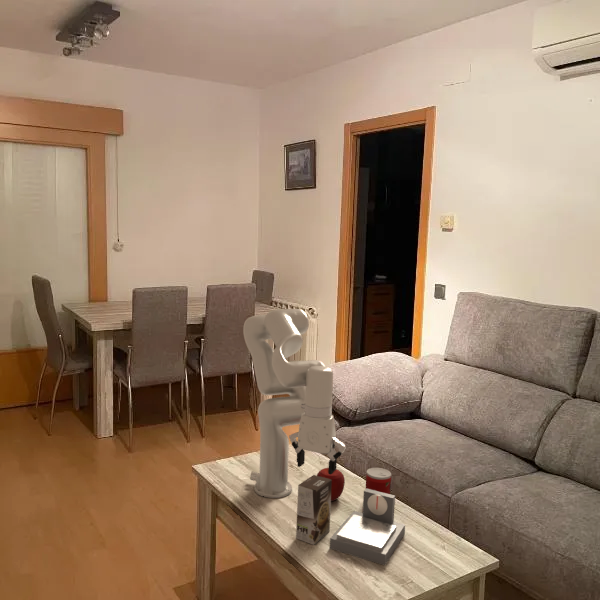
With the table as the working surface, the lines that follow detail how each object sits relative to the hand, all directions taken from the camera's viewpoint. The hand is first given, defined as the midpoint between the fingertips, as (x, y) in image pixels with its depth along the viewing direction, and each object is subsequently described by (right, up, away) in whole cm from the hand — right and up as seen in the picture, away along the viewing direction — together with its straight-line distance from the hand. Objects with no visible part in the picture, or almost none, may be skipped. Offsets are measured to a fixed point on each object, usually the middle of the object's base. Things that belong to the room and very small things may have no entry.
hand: (316, 468), depth 163 cm
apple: (+5, -17, +25) cm, 31 cm away
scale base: (+15, -21, 0) cm, 25 cm away
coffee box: (-1, -20, +3) cm, 20 cm away
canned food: (+20, -18, +22) cm, 35 cm away
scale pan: (+14, -18, -1) cm, 23 cm away
